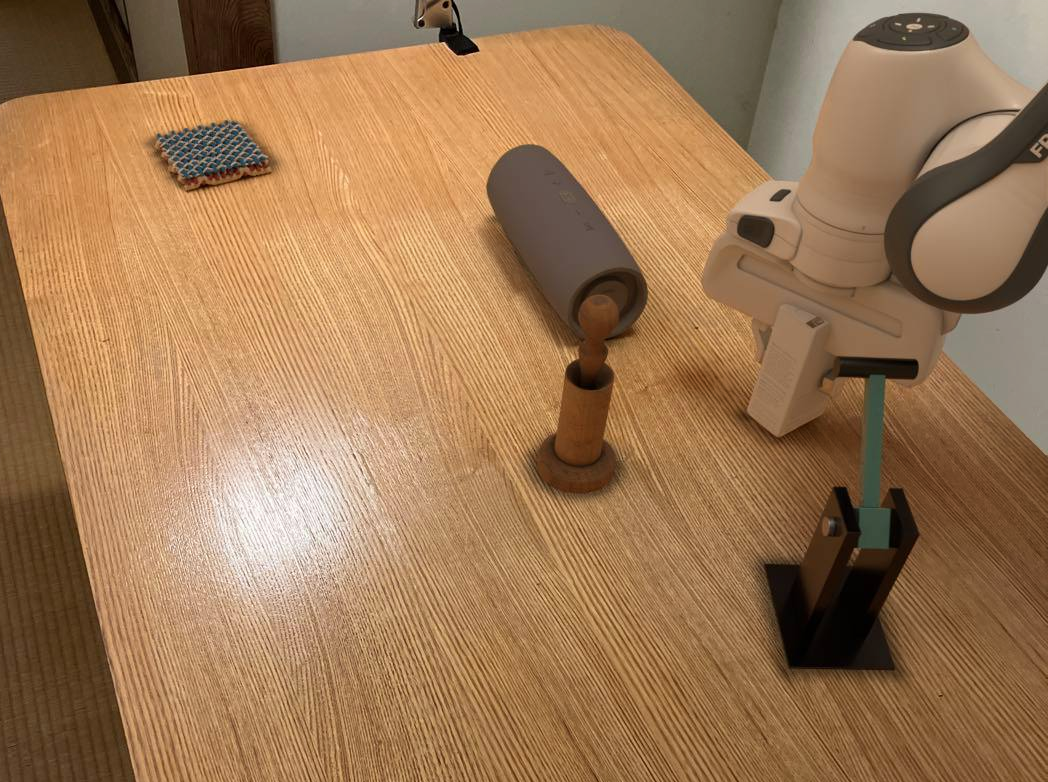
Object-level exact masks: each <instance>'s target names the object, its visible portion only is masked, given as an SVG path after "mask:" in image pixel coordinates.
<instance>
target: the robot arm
mask: <svg viewBox="0 0 1048 782" xmlns="http://www.w3.org/2000/svg"><path fill="white" fill-rule="evenodd" d="M811 141H812V143H811V145H812V154H811V160H810V163H809V165H808V168H807V170H806V171H805V172H804V174H803V176H802V177H801V179H800V181H787V180H774V179H773V180H771V179H770V180H766V181H764V182H763V183H761V184H759V185H757V186H756V187H754V188H753V189H751V190H750V191H749V192H747V193H745V195H744V196H743V197H741V198H740V199H739V200H738V201H737V202H736V203H735V205H734V206H732V208H731V209H730V210H729V212H728V213H727V216H726V221H725V230H723V231H722V232H721V233H719V235H718V236H717V237H716V238H715V240H714V241H713V243H712V246H711V248H710V250H709V253H708V255H707V257H706V258H707V259H706V261H705V264H704V268H703V270H702V275H701V280H700V285H701V287H702V290H703V292H704V295H705V297H707V298H708V299H710V300H712V301H714V302H716V303H719V304H722V305H723V306H726V307H728V308H730V309H732V310H735V311H737V312H738V313H741V314H743V315H746V316H747V317H750V318H752V321H751V324H750V328H751V331H752V335H753V338H754V341H755V344H756V347H757V349H756V352H755V356H754V360H753V361H754V362H756V363H758V364H760V365H761V364H762V361H763V358H764V355H765V351H766V348H767V345H768V342H769V339H770V336H771V333H772V330H773V327H774V324H775V321H776V317H777V314H778V311H779V308H780V306H782V305H784V304H789V305H791V306H794V307H797V308H799V309H801V310H803V311H806V312H808V313H810V314H812V315H815V316H817V317H819V318H821V319H823V320H825V321H827V322H829V323H830V324H831V328H830V331H829V334H828V336H827V339H826V342H825V344H824V349H823V350H824V351H827V352H829V353H831V354H833V355H835V356H852V357H880V358H907V359H917V361H918V363H919V371H918V375H917V377H916V379H914V380H902V379H887V380H888V381H891V382H893V383H895V384H896V385H899V386H901V387H903V388H907V389H912V388H914V387H917V386H919V385H921V384H923V383H925V381H926V380H927V379H928V378H929V377H930V375H931V374H932V372H933V371H934V370H935V368H936V366H937V365H938V362H939V359H940V358H941V354H942V352H943V349H944V346H945V342H946V339H947V337H948V336H947V335H948V334H949V333H951V332H953V331H954V330H955V329H956V328H957V326H958V324H959V322H960V320H961V318H962V316H963V315H981V314H986V313H992V312H995V311H999V310H1002V309H1005V308H1007V307H1009V306H1011V305H1013V304H1016V303H1017V302H1018V301H1020V300H1021V299H1023V298H1024V297H1026V296H1027V295H1028V294H1029V293H1030V292H1031V291H1032V290H1034V289H1035V287H1036V286H1037V285H1038V283H1040V281H1041V279H1042V278H1043V276H1044V274H1045V273H1046V270H1047V268H1048V79H1047V80H1046V81H1044V83H1043V84H1042V85H1041V87H1040V88H1039V89H1038V90H1037V91H1036V90H1033V89H1031V88H1030V87H1028V86H1026V85H1024V84H1023V83H1021V82H1019V81H1018V80H1017V79H1015V78H1014V77H1012V76H1011V75H1009V74H1008V72H1007V73H1006V72H1005V71H1004V70H1003V69H1002V68H1000V66H998V65H997V64H996V63H995V62H994V61H993V60H992V59H991V58H990V57H989V56H988V55H987V54H986V53H985V52H984V51H983V49H982V48H981V47H980V45H979V43H978V42H977V40H976V38H975V36H974V34H973V31H971V29H970V28H969V26H967V25H965V23H963V22H961V21H959V20H958V19H954V18H951V17H949V16H948V15H944V14H940V13H939V14H938V13H932V12H931V13H930V12H905V13H898V14H896V15H895V14H893V15H890V16H884V17H880V18H879V19H877V20H874V21H872V22H871V23H869V24H867V25H866V26H865V27H864V28H862V29H860V31H858V32H857V33H856V34H855V35H854V36H853V37H852V38H851V39H850V40H849V42H848V43H847V44H846V46H845V48H844V50H843V51H842V54H841V55H840V57H839V59H838V62H837V64H836V66H835V68H834V72H833V73H832V76H831V78H830V81H829V83H828V87H827V90H826V91H825V95H824V98H823V101H822V104H821V107H820V109H819V114H818V117H817V120H816V123H815V127H814V130H813V135H812V140H811ZM852 379H853V378H844V377H835V376H834V374H833V368H832V369H831V370H830V371H829V373H828V374H827V375H826V376H825V377H824V379H823V382H822V386H821V387H820V392H822V393H824V394H826V395H828V396H830V398H832V399H834V400H836V399H837V398H838V396H839V395H840V394H841V393H842V391H843V390H844V387H845V385H846V383H847V382H848V381H850V380H852Z"/></svg>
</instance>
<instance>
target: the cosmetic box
mask: <svg viewBox="0 0 1048 782" xmlns="http://www.w3.org/2000/svg"><path fill="white" fill-rule="evenodd" d="M830 328H831V324H830V323H829V322H827V321H825V320H823V319H821V318H819V317H817V316H815V315H812V314H810V313H808V312H806V311H803V310H801V309H799V308H797V307H794V306H791V305H789V304H784V305H782V306H780V308H779V311H778V314H777V317H776V321H775V324H774V327H772V333H771V336H770V339H769V342H768V345H767V348H766V351H765V355H764V358H763V361H762V364H760V367H759V371H758V373H757V376H756V380H755V383H754V386H753V390H752V392H751V395H750V399H749V402H748V405H747V407H746V413H747V415H749V416H750V417H751V418H752V419H753V420H754V421H755V422H757V424H759V425H760V426H762V427H763V428H764V429H765V430H767V431H768V432H769V433H771V434H772V435H773V436H775V437H776V438H781V437H783V436H785V435H787V434H788V433H790V432H792V431H794V430H796V429H798V428H800V427H802V426H804V425H805V424H807V423H809V422H811V421H813V420H815V419H816V418H818V417H820V416H821V415H823V414H824V413H825V411H826V407H827V405H828V403H829V400H830V398H831V397H830V396H828V395H826V394H824V393H822V392H820V387H821V386H822V382H823V379H824V377H825V376H826V375H827V374H828V373H829V371H830V370H831V369H832V368H833V363H834V360H835V358H836V357H837V356H835V355H833V354H831V353H829V352H827V351H824V350H823V349H824V344H825V342H826V339H827V336H828V334H829V331H830Z"/></svg>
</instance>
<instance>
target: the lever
mask: <svg viewBox="0 0 1048 782" xmlns="http://www.w3.org/2000/svg"><path fill="white" fill-rule="evenodd" d="M918 371H919V363H918V361H917V359H907V358H880V357H852V356H837V357H836V358H835V360H834V363H833V374H834V376H835V377H844V378H852V379H864V385H863V386H864V388H863V404H862V405H863V406H862V427H861V429H862V430H861V431H862V432H861V449H860V464H859V465H860V467H859V469H860V470H859V484H858V485H859V488H858V489H859V490H858V504H857V505H858V506H853V508H854V511H855V515H856V518H857V521H858V524H859V527H860V530H861V535H860V538H859V540H858V542H857V544H856V546H855V549H859V550H860V549H889V532H890V513H891V509H890V508H880V496H881V494H880V492H881V474H882V456H883V455H882V453H883V436H884V435H883V432H884V419H885V418H884V415H885V396H886V380H888V379H902V380H914V379H916V377H917V375H918Z"/></svg>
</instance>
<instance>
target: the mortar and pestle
mask: <svg viewBox="0 0 1048 782" xmlns="http://www.w3.org/2000/svg"><path fill="white" fill-rule="evenodd" d="M578 320H579V323H580V326H581V328H582V330H583V332H584V334H585V335H586V339H584V341H583V342H581V343H580V344H579V345H578V349H577V351H578V354H577V355H578V358H577V359H575V360H572V361H571V362H570V363H569V364H567V365H566V368H565V371H564V379H563V386H562V394H561V402H560V408H559V416H558V422H557V429H556V432H555V433H552V434H550V435H549V436H548V437H546V438H545V440H543V442H542V443H541V444H540V445H539V446H540V447H539V449H538V454H537V461H536V468H537V472H538V474H539V476H540V478H541V479H542V480H543V481H544V482H545V483H546V484H547V485H549V486H550V487H553V488H554V489H556V490H559V491H562V492H565V493H571V494H586V493H591V492H595V491H597V490H600V489H602V488H604V487H605V486H606V485H608V483H609V482H611V480H612V479H613V476H614V472H615V467H616V454H615V451H614V449H613V448H612V446H611V444H609V442H608V441H607V440H605V439H604V438H605V434H606V433H605V432H606V427H607V422H608V416H609V410H610V405H611V400H612V394H613V388H614V382H615V373H614V370H613V369H612V367H611V366H610V365H609V364H608V363H607V362H606V361H607V359H608V355H609V348H608V347H607V345H606V344H605V343H604V342H605V340H606V339H607V338H606V337H607V336H608V335H609V334H610V333H611V332H612V331H613V330H614V329H615V327H616V326H617V324H618V321H619V310H618V307H617V305H616V303H615V302H614V301H613V300H612V299H611V298H610V297H608V296H605V295H593V296H590V297H589V298H587V299H586V300H585V301H584V302H583V303H582V305H581V307H580V309H579V313H578ZM605 338H606V339H605Z"/></svg>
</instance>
